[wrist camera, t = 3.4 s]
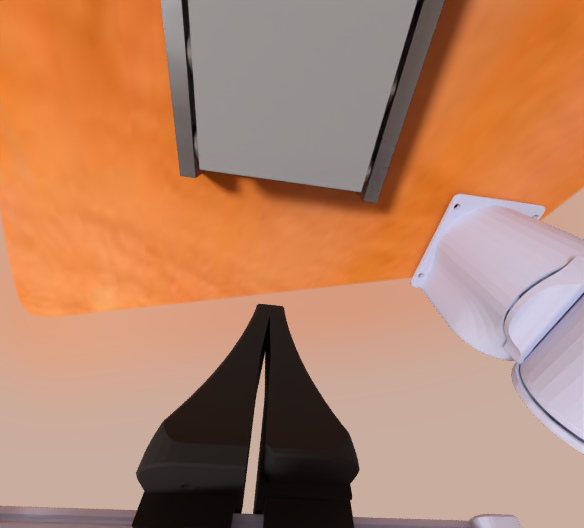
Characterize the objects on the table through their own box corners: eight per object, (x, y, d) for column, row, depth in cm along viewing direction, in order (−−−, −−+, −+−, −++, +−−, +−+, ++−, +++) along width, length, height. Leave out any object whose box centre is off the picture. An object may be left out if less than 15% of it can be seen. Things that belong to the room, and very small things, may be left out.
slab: (355, 186, 16) (361, 192, 15) (206, 165, 15) (199, 169, 14) (437, -110, 10) (458, -141, 8) (188, -171, 9) (173, -214, 8)
